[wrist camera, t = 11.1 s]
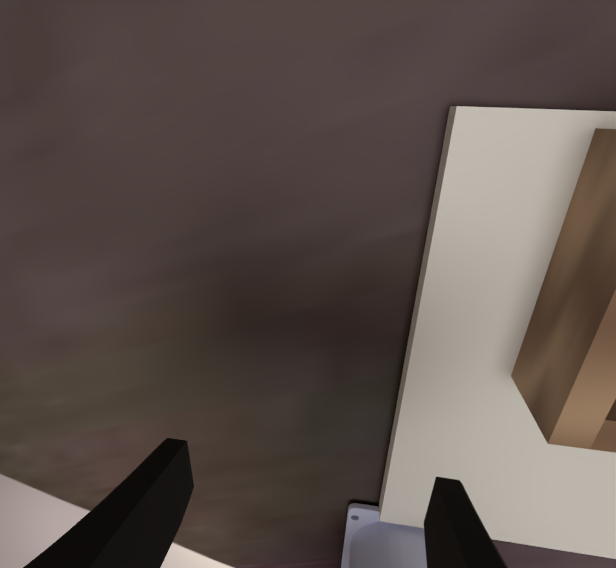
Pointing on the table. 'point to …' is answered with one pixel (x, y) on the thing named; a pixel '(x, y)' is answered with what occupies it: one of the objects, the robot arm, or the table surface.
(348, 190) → the table surface
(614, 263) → the square collar
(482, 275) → the post board
